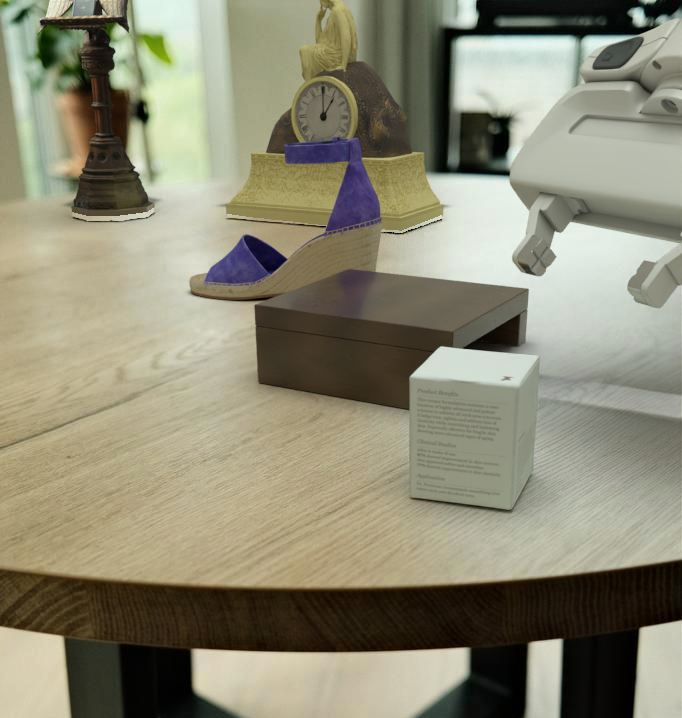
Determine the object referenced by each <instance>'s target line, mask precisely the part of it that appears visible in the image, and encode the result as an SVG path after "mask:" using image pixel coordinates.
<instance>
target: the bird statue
mask: <svg viewBox="0 0 682 718" xmlns="http://www.w3.org/2000/svg"><path fill="white" fill-rule="evenodd" d="M128 4H129V0H49V1H48V6H47V10H46V15H45V16H42V17H40V18H39V24H40V28H39V30H38V32H37V36H40V33H41V32H43V30H45V29H46V28H47V27H48V26H59V27H58V29H59V31H60V32H61V31H63V30H69V31H73V30H74V31H80V30H81V31H84V33H83V37H82V47H80V48H78V50H77V53H78V54H79V55H80V58H81V66H82V67H81V68H82V69H83V70H85V71H87V72H88V73H89V75H88V76H89V78H90V81H91V90H92V91H91V92H92V100H93V102H92V104H91V107H92V108H93V110H94V122H95V128H96V130H95V131H96V132H95V133H94V135H95V136H92V138H90V141H89V142H88V143H89V147H90V148H89V151H88V154H87V157H86V160H85V164H84V167H82V168H81V173H80V174H79V176H78V179H79V181H78V184H77V191H76V195H75V198H74V199H73V201H72V202H73V205H72V206H71V207H70V208H71V213H72V212H74V213H78V214H82V215H86V216H120V215H128V214H136V213H143V212H148V211H149V210H151V209H152V208H154V207H155V208H156V204H155V202H154V201H150V200H149V195H148V193H147V192H146V191H145V186H143V182H142V179H140V175H141V173H140V172H138V171H136V170H135V169H136V166H135V165H133V163H132V162H131V160H130V157H129V156H128V154H127V151H126V150H125V148H124V146H123V140H122V139H121V138H120V137H119V136H116V133H115V132H114V131H113V128H112V126H113V124H112V122H113V121H112V117H113V114H112V109H113V108H114V107H115V105H114V104H113V103H112V102H111V94H112V93H111V91H110V88H109V86H110V85H109V78H110V73H109V72H111V71H114V69H115V67H116V64H115V60H114V55H115V54H116V49H115V48H114V47H112V46H110V43H111V38H110V36H109V34H107V32H106V31H107V30H108V24H109V25H110V24H112V25H115V23H116V24H118V26H120V27H121V28H122V29H124V30H125V31H126V32H127V34H129V33H130V26H129V21H128V13H127V12H128ZM71 8H72V9H71ZM70 10H71V12H70V14H69V15H68V16H64V15H65V14H66V13H67V12H69V11H70ZM103 12H104V13H105V14H106V15H105V14H104V13H103Z"/></svg>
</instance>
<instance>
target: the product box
mask: <svg viewBox="0 0 682 718" xmlns="http://www.w3.org/2000/svg"><path fill="white" fill-rule="evenodd" d="M540 367H541V357H540V355H537V354H536V355H535V354H526V353H524V354H523V353H511V352H500V351H489V350H481V349H480V350H479V349H467V348H462V349H459V348H450V347H443V346H441V347H439V348H438V349H437V350H436V351H435V352H434V353H433V354H432V355H431V356H430V357H429V358H428V359H427V360H426V361H425V362H424V363H423V364H422V365H421V366H420V367H419V368H418V369H417V370H416V371H415V372H414V373H413V374H412V375H411V376H410V378H409V384H410V409H409V422H408V423H409V425H408V426H409V427H408V429H409V430H408V464H409V467H408V468H409V469H408V470H409V471H408V472H409V473H408V474H409V475H408V476H409V477H408V478H409V479H408V480H409V481H408V483H409V497H410V498H411V499H423V500H430V501H431V500H432V501H439V502H448V503H456V504H462V505H471V506H480V507H487V508H494V509H501V510H512V509H513V508H514V506H515V504H516V502H517V500H518V499H519V497H520V495H521V494H522V492H523V490H524V488H525V486H526V484H527V482H528V480H529V479H530V476H531V475H532V473H533V471H534V459H535V444H536V443H535V441H536V431H537V430H536V429H537V415H538V399H539V382H540V379H539V378H540V369H541V368H540Z"/></svg>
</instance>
